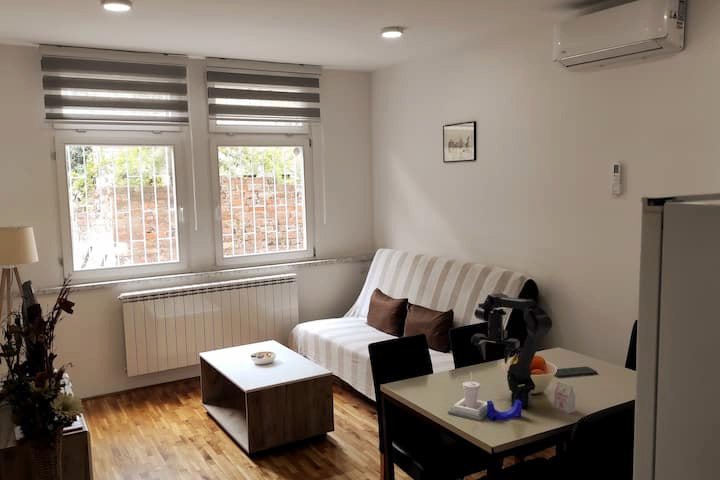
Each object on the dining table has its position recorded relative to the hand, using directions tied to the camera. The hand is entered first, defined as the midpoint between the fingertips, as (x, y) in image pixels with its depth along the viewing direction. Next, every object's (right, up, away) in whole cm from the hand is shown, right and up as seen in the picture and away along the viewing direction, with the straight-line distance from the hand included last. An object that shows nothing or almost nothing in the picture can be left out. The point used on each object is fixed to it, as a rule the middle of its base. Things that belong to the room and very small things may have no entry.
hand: (494, 361), depth 243 cm
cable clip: (-2, -16, -24) cm, 29 cm away
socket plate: (-13, -15, -19) cm, 27 cm away
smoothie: (-13, -14, -18) cm, 27 cm away
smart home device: (+40, -11, +24) cm, 48 cm away
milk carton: (+23, -15, -17) cm, 32 cm away
